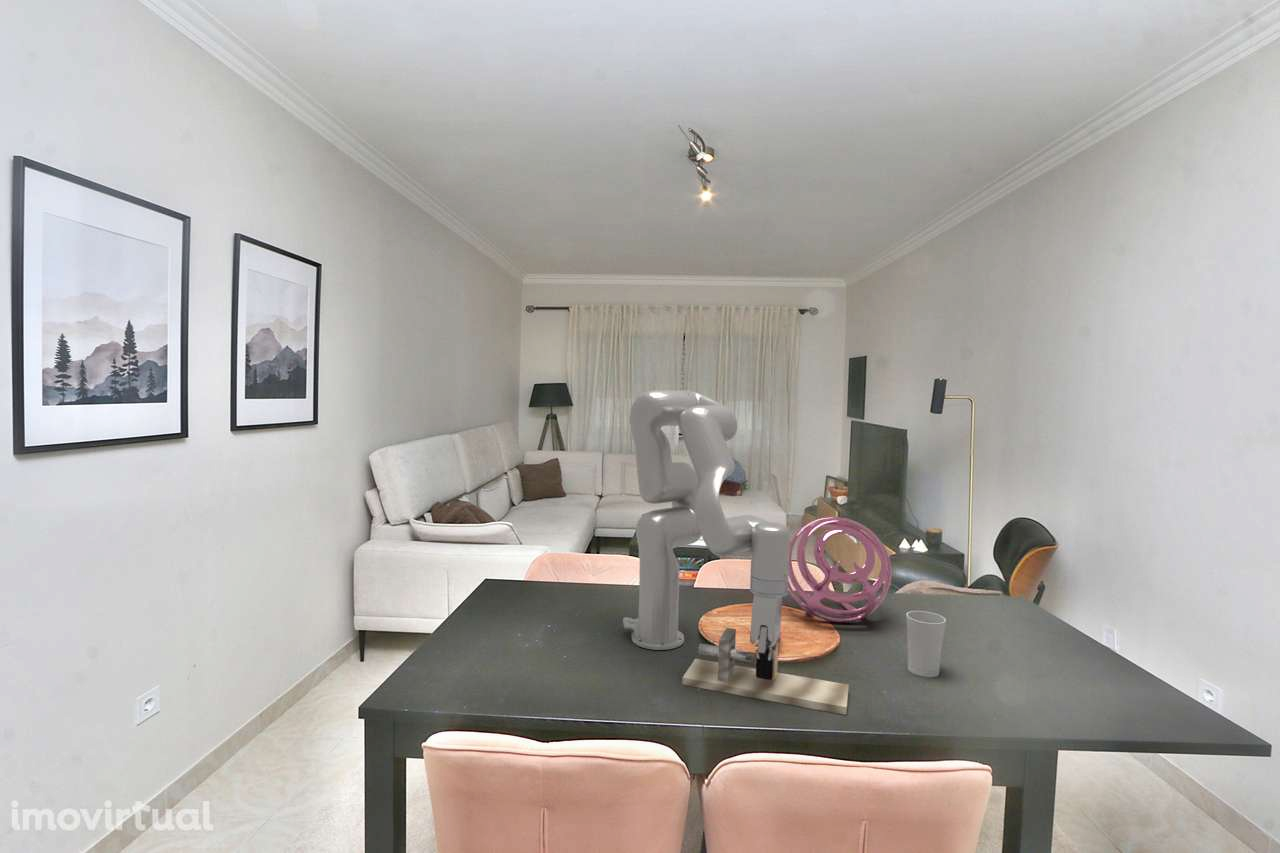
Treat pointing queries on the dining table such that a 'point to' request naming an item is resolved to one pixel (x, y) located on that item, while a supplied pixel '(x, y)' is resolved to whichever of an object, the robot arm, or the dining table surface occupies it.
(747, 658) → the peg
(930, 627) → the cup
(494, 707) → the dining table surface
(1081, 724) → the dining table surface
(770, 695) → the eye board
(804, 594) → the spiral basket
